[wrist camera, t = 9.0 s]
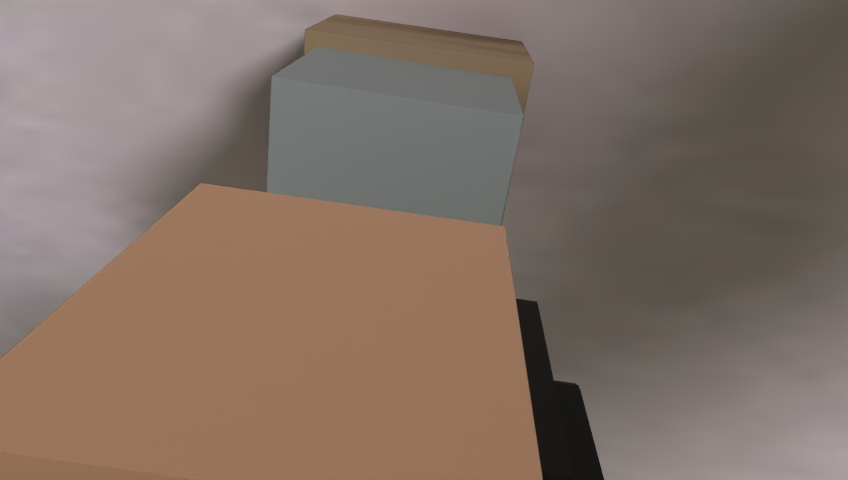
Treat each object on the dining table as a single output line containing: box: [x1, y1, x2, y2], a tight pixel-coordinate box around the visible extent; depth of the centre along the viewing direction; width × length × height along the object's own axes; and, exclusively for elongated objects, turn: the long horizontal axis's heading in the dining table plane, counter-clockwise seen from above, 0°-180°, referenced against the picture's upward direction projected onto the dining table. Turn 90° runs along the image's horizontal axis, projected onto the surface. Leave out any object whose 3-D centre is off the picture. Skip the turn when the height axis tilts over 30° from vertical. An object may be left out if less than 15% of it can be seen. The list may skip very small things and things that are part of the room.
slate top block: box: [267, 47, 524, 226], centre depth 19 cm, size 6×6×5 cm
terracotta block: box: [0, 183, 543, 480], centre depth 9 cm, size 5×5×6 cm
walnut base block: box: [304, 14, 534, 226], centre depth 23 cm, size 7×7×5 cm
